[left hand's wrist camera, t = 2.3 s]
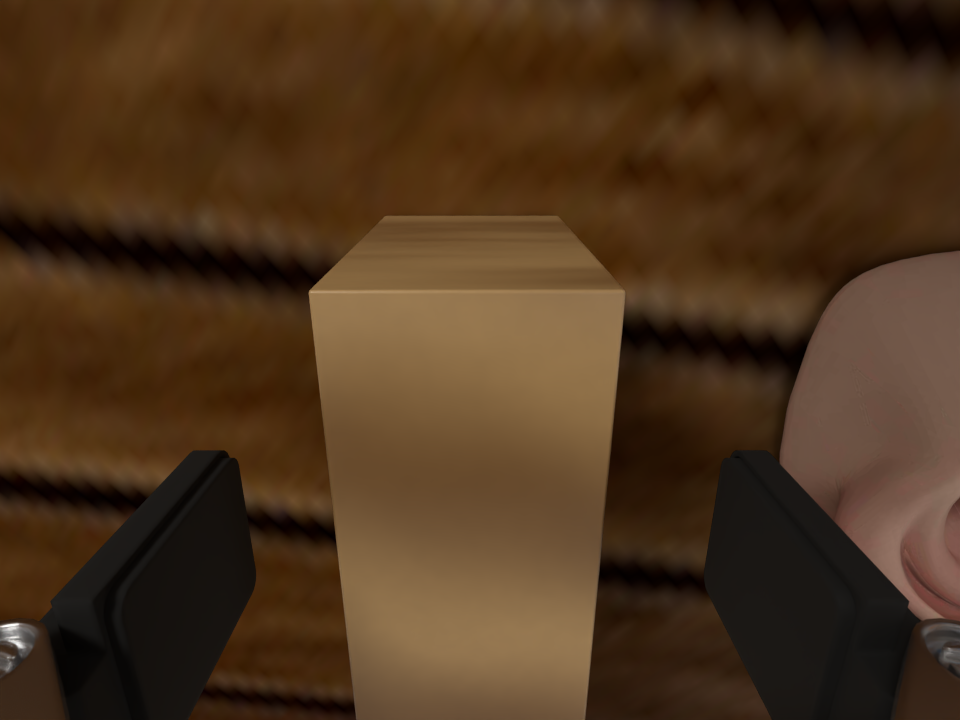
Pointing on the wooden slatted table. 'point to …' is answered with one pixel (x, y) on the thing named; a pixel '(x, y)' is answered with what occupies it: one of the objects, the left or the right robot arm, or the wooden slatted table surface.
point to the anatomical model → (888, 424)
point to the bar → (468, 461)
